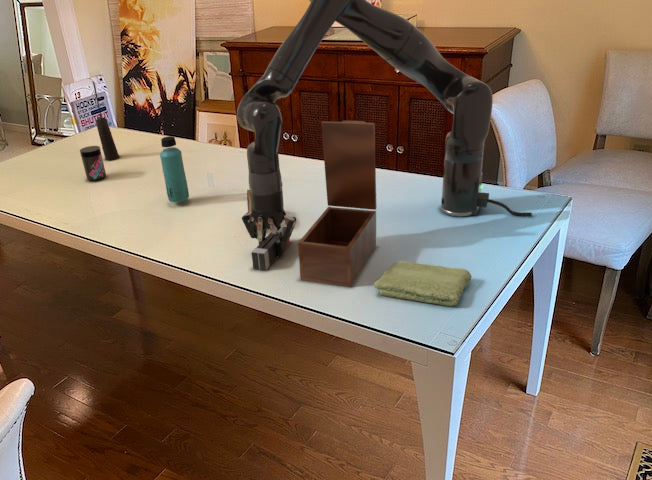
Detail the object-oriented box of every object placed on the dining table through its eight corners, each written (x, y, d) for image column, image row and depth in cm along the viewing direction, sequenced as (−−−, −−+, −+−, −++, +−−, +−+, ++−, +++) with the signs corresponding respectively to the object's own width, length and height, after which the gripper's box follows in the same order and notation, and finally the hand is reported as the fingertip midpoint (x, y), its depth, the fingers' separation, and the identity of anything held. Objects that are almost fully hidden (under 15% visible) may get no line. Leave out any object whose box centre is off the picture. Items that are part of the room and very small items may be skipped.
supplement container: (86, 183, 209) (79, 153, 204) (87, 177, 215) (79, 147, 210) (106, 180, 210) (99, 150, 205) (106, 173, 216) (100, 144, 210)
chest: (351, 287, 135) (350, 248, 130) (300, 280, 140) (297, 242, 135) (376, 246, 150) (376, 210, 145) (329, 241, 155) (328, 206, 150)
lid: (373, 124, 132) (380, 114, 136) (321, 122, 137) (329, 113, 141) (375, 209, 145) (381, 199, 148) (327, 205, 149) (334, 195, 153)
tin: (247, 213, 175) (244, 185, 170) (258, 211, 175) (255, 183, 170) (252, 236, 162) (248, 206, 158) (264, 234, 162) (261, 204, 158)
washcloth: (393, 267, 141) (393, 254, 139) (472, 280, 132) (474, 267, 131) (371, 295, 131) (371, 282, 130) (456, 311, 123) (457, 298, 121)
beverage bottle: (194, 199, 187) (183, 134, 177) (183, 208, 182) (171, 141, 172) (175, 198, 190) (164, 133, 180) (164, 206, 185) (151, 140, 175)
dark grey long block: (278, 241, 158) (276, 224, 155) (290, 242, 156) (288, 226, 154) (253, 269, 146) (251, 251, 144) (265, 270, 145) (264, 253, 143)
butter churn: (97, 156, 234) (79, 79, 220) (122, 151, 236) (106, 75, 221) (98, 163, 227) (79, 84, 212) (124, 159, 228) (107, 80, 214)
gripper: (231, 191, 142) (239, 258, 151) (287, 196, 137) (293, 265, 146) (245, 179, 148) (252, 244, 157) (300, 183, 142) (304, 250, 151)
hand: (272, 254), depth 151 cm, fingers closed on dark grey long block, 3 cm apart
